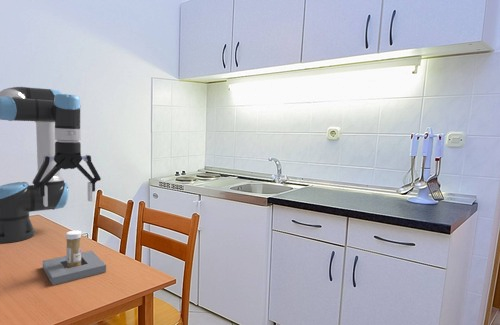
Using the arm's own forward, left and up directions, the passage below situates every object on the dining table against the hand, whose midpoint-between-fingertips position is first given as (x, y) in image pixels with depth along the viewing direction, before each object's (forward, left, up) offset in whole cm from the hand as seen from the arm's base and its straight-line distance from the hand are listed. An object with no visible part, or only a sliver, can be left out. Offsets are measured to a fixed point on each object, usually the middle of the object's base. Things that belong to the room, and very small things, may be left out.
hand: (68, 203), depth 111 cm
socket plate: (+3, +1, -23) cm, 23 cm away
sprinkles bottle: (+3, +1, -23) cm, 23 cm away
